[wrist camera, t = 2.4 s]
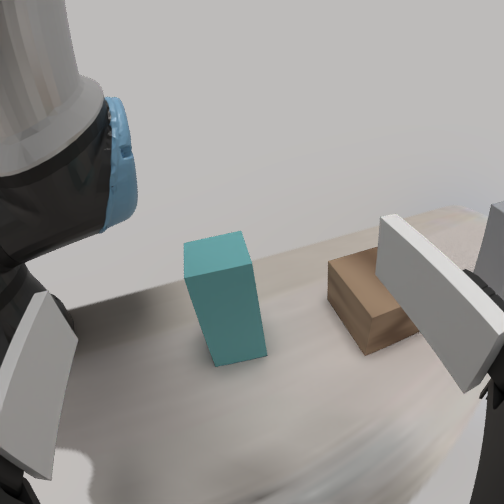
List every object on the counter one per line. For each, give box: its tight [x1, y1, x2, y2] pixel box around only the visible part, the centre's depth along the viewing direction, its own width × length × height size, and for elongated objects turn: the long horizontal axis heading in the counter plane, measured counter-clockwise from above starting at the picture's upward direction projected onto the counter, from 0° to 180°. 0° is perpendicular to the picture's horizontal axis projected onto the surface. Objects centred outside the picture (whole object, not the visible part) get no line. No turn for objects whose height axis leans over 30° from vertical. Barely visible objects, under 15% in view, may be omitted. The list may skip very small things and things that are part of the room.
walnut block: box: [327, 247, 420, 356], centre depth 27 cm, size 8×8×5 cm
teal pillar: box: [184, 231, 267, 367], centre depth 25 cm, size 5×5×10 cm
